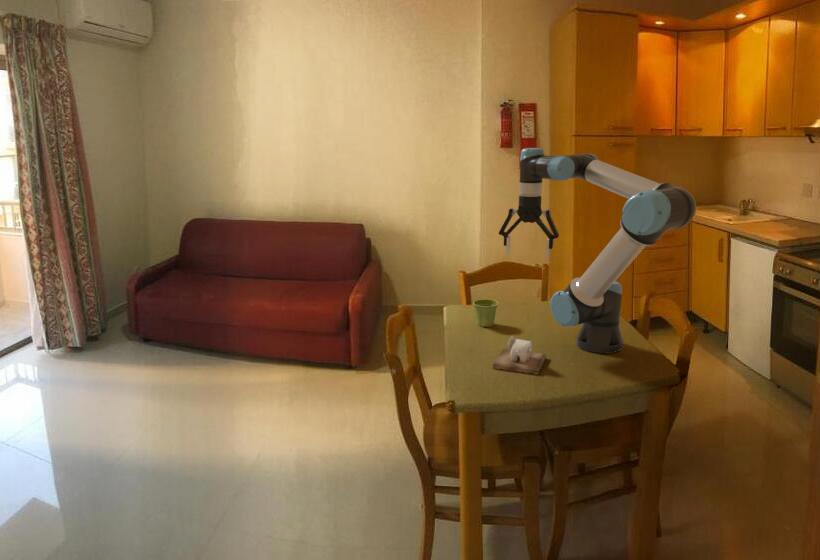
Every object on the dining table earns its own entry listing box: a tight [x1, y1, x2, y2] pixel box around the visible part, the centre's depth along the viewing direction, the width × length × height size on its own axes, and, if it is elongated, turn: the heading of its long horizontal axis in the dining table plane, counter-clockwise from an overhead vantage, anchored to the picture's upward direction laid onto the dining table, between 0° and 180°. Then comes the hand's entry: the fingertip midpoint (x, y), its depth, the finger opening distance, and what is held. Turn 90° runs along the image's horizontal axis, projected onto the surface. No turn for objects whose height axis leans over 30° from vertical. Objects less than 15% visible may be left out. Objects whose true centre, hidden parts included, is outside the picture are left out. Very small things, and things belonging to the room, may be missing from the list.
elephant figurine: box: [506, 335, 533, 363], centre depth 198 cm, size 8×10×7 cm
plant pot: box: [472, 298, 500, 328], centre depth 235 cm, size 9×9×9 cm
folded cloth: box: [492, 348, 547, 374], centre depth 199 cm, size 14×14×2 cm
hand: (527, 256), depth 218 cm, fingers open, 13 cm apart
